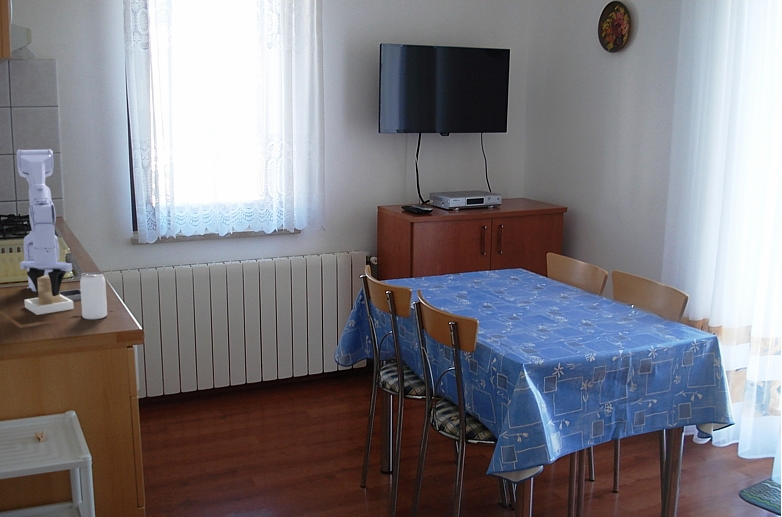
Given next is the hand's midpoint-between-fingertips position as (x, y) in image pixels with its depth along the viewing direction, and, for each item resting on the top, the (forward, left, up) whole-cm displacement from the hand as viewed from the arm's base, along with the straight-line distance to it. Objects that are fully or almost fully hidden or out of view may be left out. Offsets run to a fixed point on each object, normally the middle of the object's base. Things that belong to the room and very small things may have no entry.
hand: (48, 294), depth 224 cm
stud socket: (-8, +9, -5) cm, 13 cm away
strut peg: (0, 0, -3) cm, 3 cm away
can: (+14, +7, -5) cm, 17 cm away
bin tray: (0, 0, -5) cm, 5 cm away
